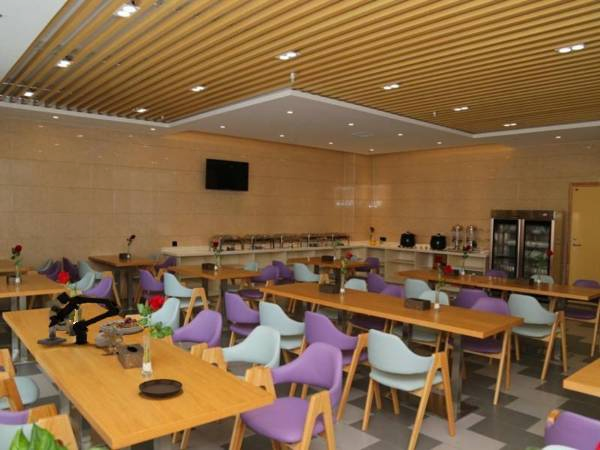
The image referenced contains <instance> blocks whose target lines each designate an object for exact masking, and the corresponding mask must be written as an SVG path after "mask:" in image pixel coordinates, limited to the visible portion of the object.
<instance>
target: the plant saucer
mask: <svg viewBox="0 0 600 450" xmlns="http://www.w3.org/2000/svg"><path fill="white" fill-rule="evenodd" d="M182 388H183V383H182V382H181V381H179V380H175V379H171V378H155V379H150V380H146V381H143V382H141V383H140V384H139V385H138V390H139V391H140V392H141V394H143V395H144V396H147V397H150V398H168V397H171V396H174V395H176V394H177V393H179V392H180V391H181V390H182Z"/></svg>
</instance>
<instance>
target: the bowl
mask: <svg viewBox="0 0 600 450" xmlns="http://www.w3.org/2000/svg"><path fill="white" fill-rule="evenodd" d="M137 321H138V320H137V319H136V318H133V317H131V316H127V317H126V318H124V319H117V320H116V319H115V320H109V321H105V322H102V323H100V324H99V329H100V331H101V332H104V329H105V330H106V331H108V330H110V332H111V333H112V332H113V328H112V326H113V325H115V326H116V328H120V331H121V329H122V332H121V333H123V335H130V334H135V333H139V332H140V331H141V330H142V329H143V328H142V327H141V326H139V325H138V324H137ZM110 324H111V325H112V326H111V325H110ZM120 331H117V334H116V335H119V333H120ZM114 332H115V331H114ZM114 332H113V333H114Z"/></svg>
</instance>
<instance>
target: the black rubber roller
mask: <svg viewBox="0 0 600 450" xmlns="http://www.w3.org/2000/svg"><path fill="white" fill-rule="evenodd" d="M73 325H74V324H72V325H70V334H69V337H76V335H75V332H74V331H73Z"/></svg>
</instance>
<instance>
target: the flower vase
mask: <svg viewBox="0 0 600 450" xmlns="http://www.w3.org/2000/svg"><path fill="white" fill-rule="evenodd" d="M110 325H111V324H110ZM111 326H112V325H111ZM112 328H113V332H114V331H115V332H114V333H113V332H112V333H111V332H110V330H108V331H106V330H105V329H104V332H102V331H101V332H99V333H98V334H96V335H95V338H94V342H95V345H96V346H98V347H100V348H105V347H107V346H108V348H109V349H111V348H112V349H111V350H109V351H108V352H107V355H110V354H113V355H117V351H118V348H119V347H118V346H120V347H121V343H123V342H124V338H123V336H124V334H123V333H121V332H122V329H121V331H120V328H116V326H115V325H113V326H112ZM117 331H120V333H119V335H116V334H117ZM118 339H119V340H120V341H117V340H118ZM115 346H116V348H115ZM117 347H118V348H117Z"/></svg>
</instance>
